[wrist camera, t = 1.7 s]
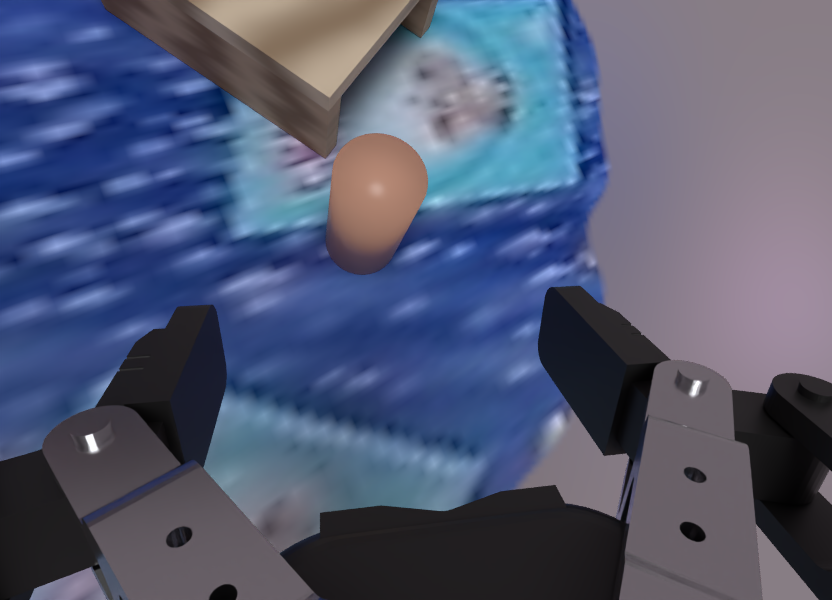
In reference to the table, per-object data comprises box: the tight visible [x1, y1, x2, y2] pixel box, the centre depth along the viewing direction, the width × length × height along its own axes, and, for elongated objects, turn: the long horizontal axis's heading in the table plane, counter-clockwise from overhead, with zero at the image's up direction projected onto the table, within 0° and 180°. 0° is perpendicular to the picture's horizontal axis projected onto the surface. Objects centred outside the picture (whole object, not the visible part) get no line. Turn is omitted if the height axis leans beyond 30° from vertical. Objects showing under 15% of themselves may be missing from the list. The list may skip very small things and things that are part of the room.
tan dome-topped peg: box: [326, 133, 428, 275], centre depth 34 cm, size 5×5×11 cm
